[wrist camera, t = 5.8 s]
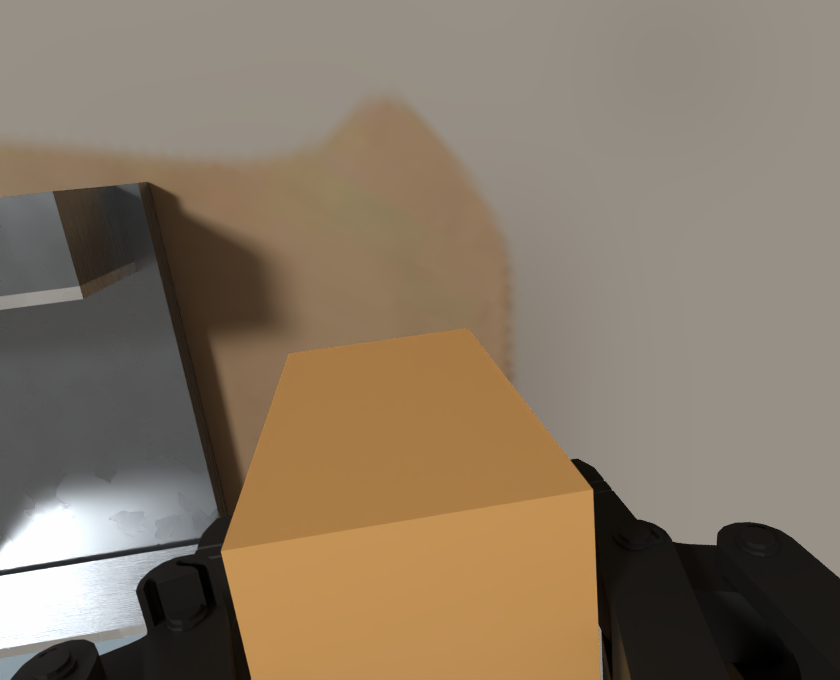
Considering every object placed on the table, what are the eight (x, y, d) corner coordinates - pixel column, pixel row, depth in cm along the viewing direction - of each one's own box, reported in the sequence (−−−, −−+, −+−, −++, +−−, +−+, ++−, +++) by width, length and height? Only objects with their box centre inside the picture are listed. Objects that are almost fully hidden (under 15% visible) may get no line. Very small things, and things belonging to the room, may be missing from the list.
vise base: (259, 646, 37) (237, 762, 30) (25, 687, 36) (-56, 817, 29) (148, 181, 29) (80, 188, 22) (-160, 218, 28) (-337, 237, 21)
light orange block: (488, 543, 19) (607, 858, 10) (328, 570, 18) (309, 922, 10) (468, 328, 17) (593, 489, 8) (288, 353, 16) (220, 551, 8)
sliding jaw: (220, 603, 34) (194, 687, 28) (-1, 640, 33) (-71, 735, 27) (204, 543, 33) (175, 619, 27) (-25, 580, 32) (-103, 666, 26)
